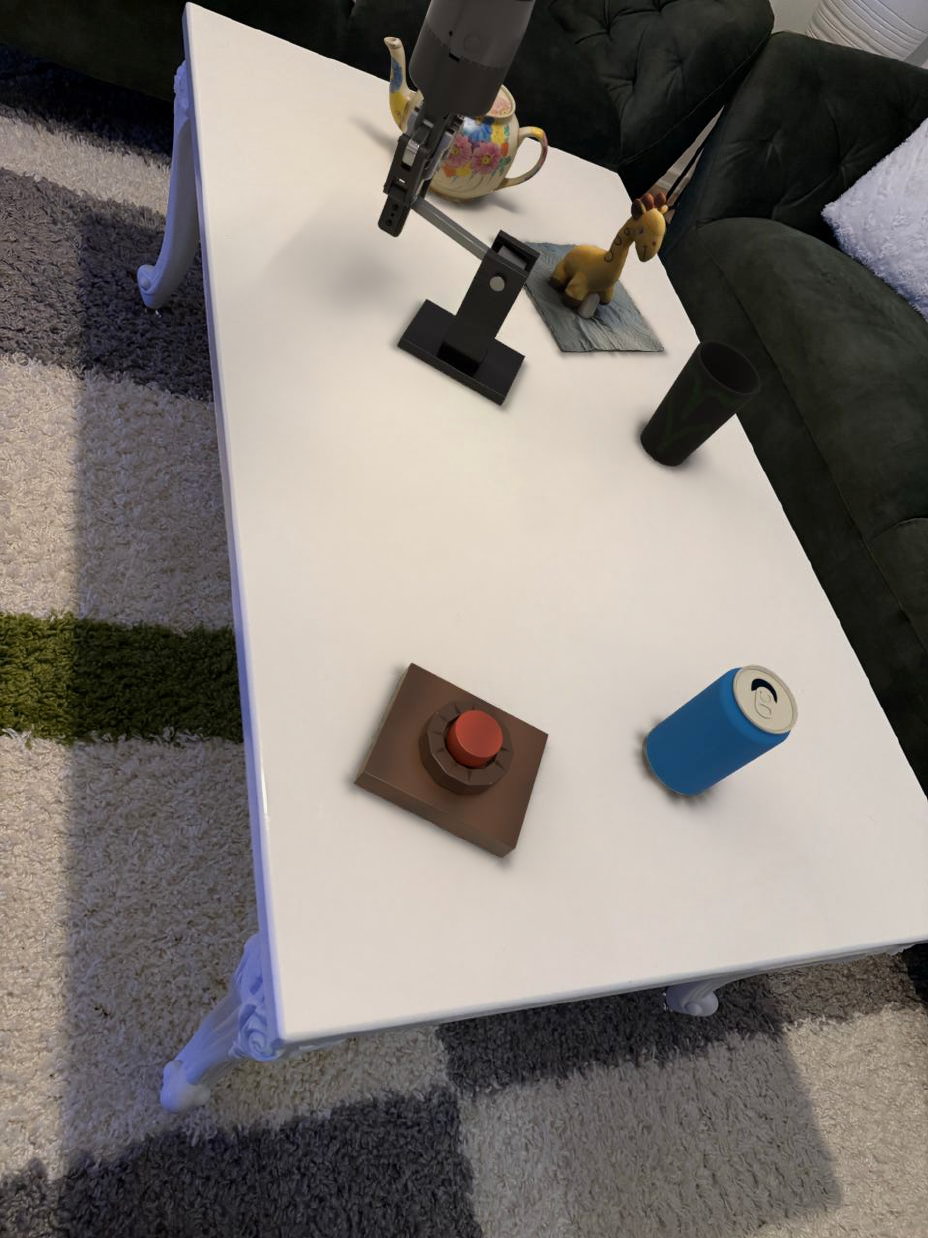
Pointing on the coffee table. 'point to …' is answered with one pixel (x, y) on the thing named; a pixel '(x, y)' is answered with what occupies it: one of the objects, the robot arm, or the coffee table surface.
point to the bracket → (475, 325)
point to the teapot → (469, 140)
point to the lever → (459, 231)
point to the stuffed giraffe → (598, 285)
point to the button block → (452, 763)
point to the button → (474, 738)
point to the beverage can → (722, 729)
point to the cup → (700, 401)
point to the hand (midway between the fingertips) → (398, 217)
